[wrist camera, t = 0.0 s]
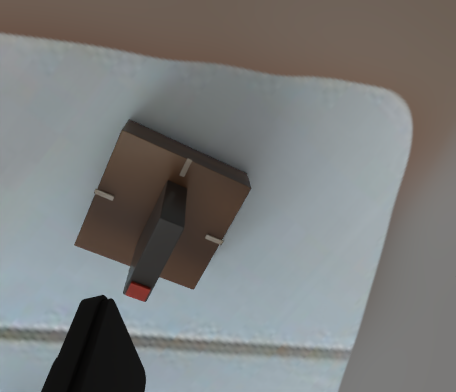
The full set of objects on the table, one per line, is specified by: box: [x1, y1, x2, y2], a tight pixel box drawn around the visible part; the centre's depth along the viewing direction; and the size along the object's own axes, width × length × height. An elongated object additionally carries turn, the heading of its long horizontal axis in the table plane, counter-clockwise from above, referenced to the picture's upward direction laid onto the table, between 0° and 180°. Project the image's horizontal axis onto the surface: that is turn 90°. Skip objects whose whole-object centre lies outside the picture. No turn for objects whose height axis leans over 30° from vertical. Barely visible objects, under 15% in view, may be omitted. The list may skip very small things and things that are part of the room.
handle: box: [123, 180, 187, 302], centre depth 27 cm, size 6×2×6 cm, turn 153°
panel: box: [74, 120, 251, 290], centre depth 32 cm, size 10×10×3 cm
